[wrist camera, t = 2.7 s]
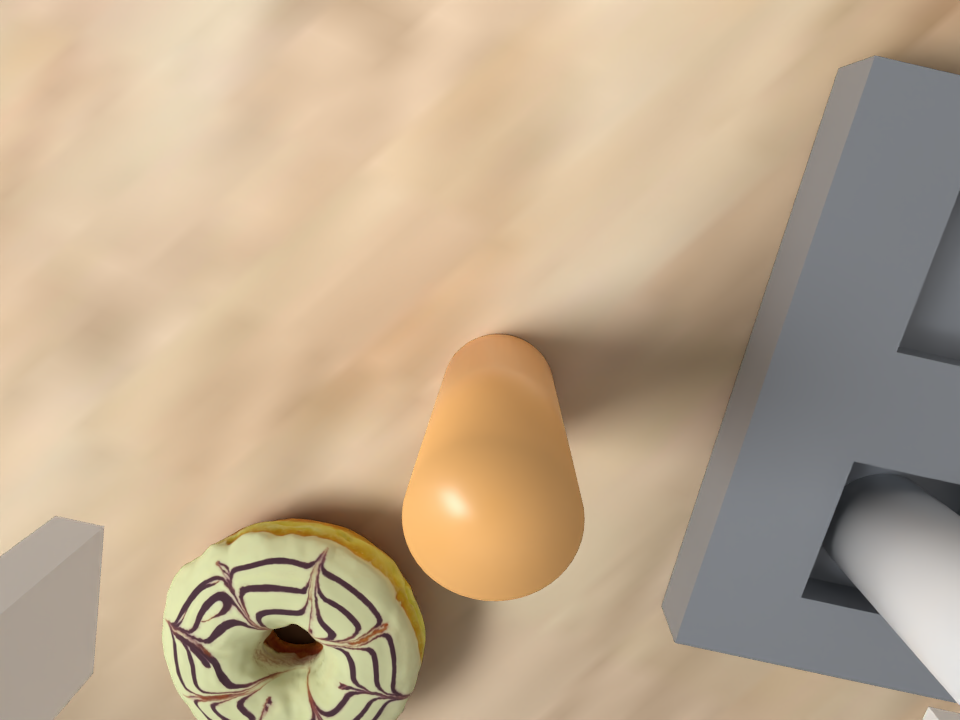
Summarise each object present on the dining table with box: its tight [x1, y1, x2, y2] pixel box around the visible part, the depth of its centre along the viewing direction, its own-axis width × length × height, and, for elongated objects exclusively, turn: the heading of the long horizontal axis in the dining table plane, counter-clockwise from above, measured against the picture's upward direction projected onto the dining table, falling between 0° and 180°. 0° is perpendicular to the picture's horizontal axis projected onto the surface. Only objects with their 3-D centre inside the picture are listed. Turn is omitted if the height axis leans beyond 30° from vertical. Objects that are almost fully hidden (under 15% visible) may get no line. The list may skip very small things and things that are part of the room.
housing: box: [662, 56, 960, 703], centre depth 25 cm, size 22×14×2 cm, turn 168°
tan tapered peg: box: [402, 334, 585, 601], centre depth 22 cm, size 4×4×11 cm
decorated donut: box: [162, 518, 426, 720], centre depth 28 cm, size 10×11×4 cm
